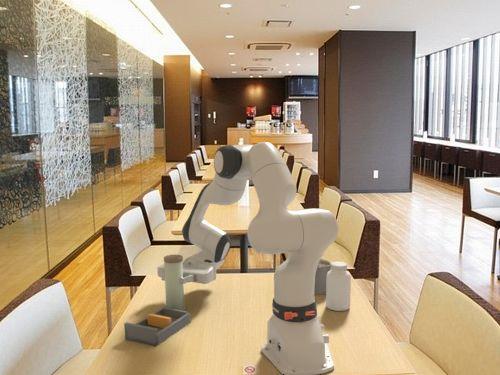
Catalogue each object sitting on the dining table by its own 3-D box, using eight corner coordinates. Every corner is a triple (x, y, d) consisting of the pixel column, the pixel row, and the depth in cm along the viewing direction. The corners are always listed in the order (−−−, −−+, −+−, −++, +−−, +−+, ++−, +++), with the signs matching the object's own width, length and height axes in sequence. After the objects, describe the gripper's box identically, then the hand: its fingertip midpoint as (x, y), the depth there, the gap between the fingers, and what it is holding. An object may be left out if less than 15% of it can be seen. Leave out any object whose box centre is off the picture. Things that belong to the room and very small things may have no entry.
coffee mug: (303, 294, 184) (303, 267, 183) (303, 284, 194) (303, 258, 192) (341, 294, 183) (342, 267, 182) (339, 284, 193) (339, 259, 191)
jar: (185, 311, 171) (183, 259, 168) (166, 313, 170) (163, 260, 167) (184, 304, 177) (182, 253, 174) (165, 306, 176) (163, 255, 173)
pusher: (150, 323, 159) (149, 313, 159) (171, 327, 156) (171, 317, 155) (147, 324, 158) (147, 314, 158) (169, 329, 155) (168, 319, 154)
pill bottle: (355, 307, 171) (356, 264, 169) (337, 313, 167) (338, 269, 164) (338, 300, 178) (338, 258, 175) (321, 306, 173) (321, 263, 171)
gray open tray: (161, 316, 167) (161, 301, 166) (190, 322, 162) (189, 307, 161) (125, 339, 151) (124, 323, 150) (155, 346, 146) (154, 330, 146)
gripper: (170, 256, 187) (146, 267, 175) (219, 262, 178) (198, 274, 166) (171, 272, 188) (147, 284, 176) (219, 280, 179) (198, 293, 167)
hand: (172, 279), depth 171 cm, fingers closed on jar, 6 cm apart
